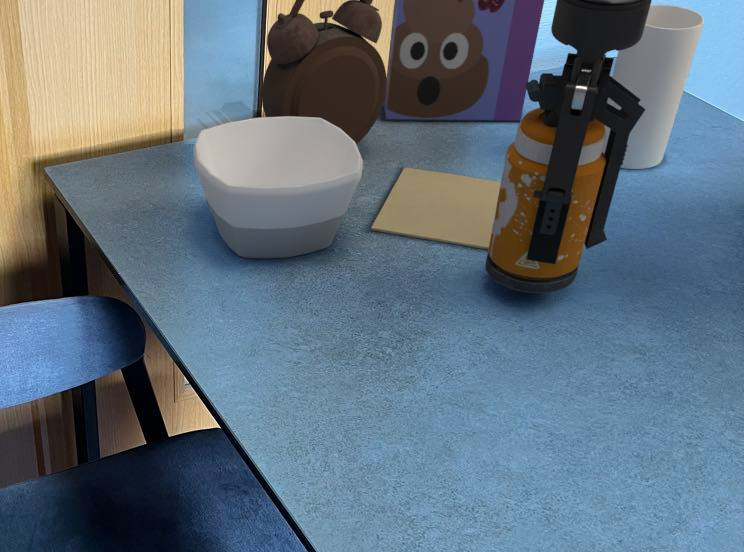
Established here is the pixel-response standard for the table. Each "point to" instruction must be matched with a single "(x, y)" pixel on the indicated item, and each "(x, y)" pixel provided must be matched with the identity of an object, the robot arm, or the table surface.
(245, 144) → the bowl
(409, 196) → the mat
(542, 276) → the canister
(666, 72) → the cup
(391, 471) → the table surface
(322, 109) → the alarm clock
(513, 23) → the cereal box
